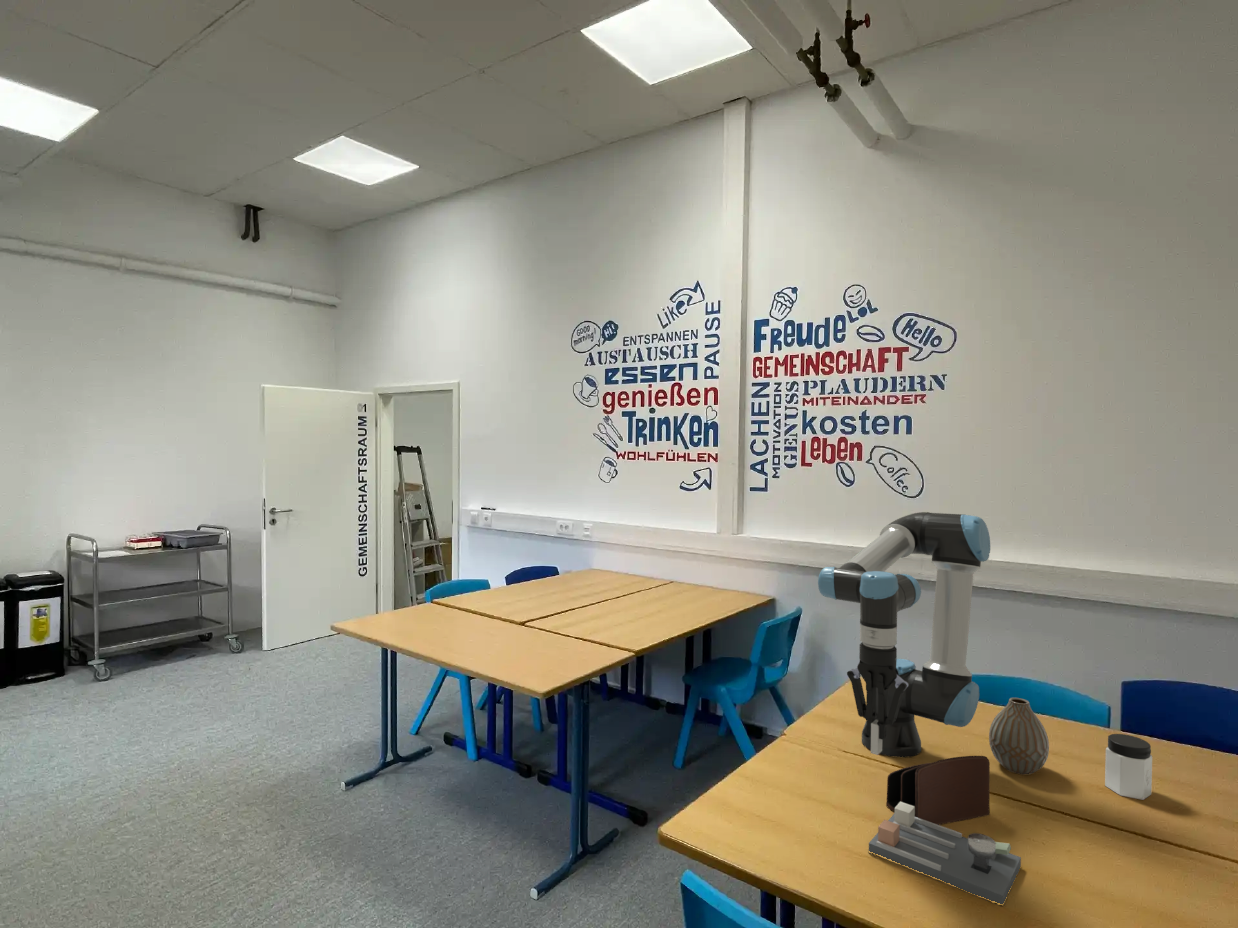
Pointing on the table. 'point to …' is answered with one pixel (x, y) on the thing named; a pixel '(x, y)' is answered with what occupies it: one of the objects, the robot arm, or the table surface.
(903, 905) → the table surface
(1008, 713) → the vase
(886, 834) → the slider terracotta
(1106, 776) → the jar
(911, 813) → the slider ivory
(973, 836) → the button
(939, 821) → the letter holder
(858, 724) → the table surface
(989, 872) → the panel
